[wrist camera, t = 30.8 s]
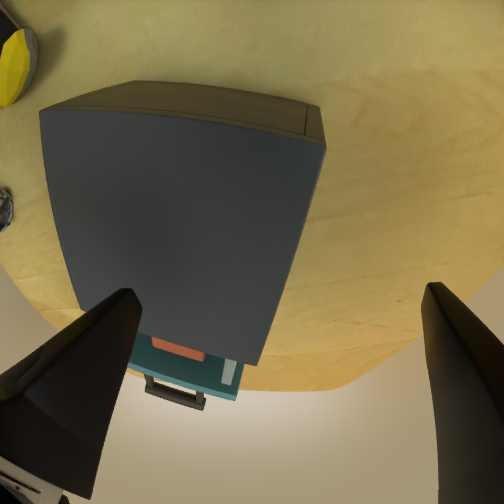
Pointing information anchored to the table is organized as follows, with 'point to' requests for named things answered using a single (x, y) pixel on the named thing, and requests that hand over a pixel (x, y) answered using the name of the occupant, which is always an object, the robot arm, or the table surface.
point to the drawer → (185, 374)
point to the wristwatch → (5, 210)
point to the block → (178, 349)
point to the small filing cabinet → (183, 204)
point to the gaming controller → (15, 59)
